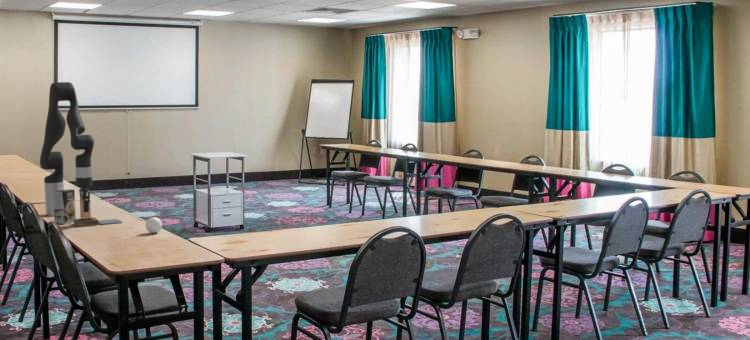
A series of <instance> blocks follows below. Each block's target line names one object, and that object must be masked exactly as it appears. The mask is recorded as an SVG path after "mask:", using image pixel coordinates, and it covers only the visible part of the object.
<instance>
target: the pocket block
mask: <svg viewBox="0 0 750 340" xmlns="http://www.w3.org/2000/svg"><path fill="white" fill-rule="evenodd" d="M98 221H99V219H97V218H96V217H94V216H93V217H92V216H91V218H89V219H81V217H80V218H76V219H74V222H73V225H74V226H76V227H77V228H81V227H92V226H99V223H98Z"/></svg>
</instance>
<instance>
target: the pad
mask: <svg viewBox="0 0 750 340" xmlns="http://www.w3.org/2000/svg"><path fill="white" fill-rule="evenodd" d="M114 224H115V225H116V224H123V221H121V220H119V219H118V218H114V219H113V218H112V219H104V220H98V225H101V226H106V225H114Z"/></svg>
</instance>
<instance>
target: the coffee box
mask: <svg viewBox="0 0 750 340" xmlns="http://www.w3.org/2000/svg"><path fill="white" fill-rule="evenodd" d="M53 194H54V216H53V219H54V222H55V221H56V222H57V223H58V224H57V225H59V224H60V225H67V224H70V223H74V219H77V218H76V217H77V216H76V198H75V197H76V194H75V189H64V190H59V191H54V192H53Z"/></svg>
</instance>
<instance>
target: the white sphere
mask: <svg viewBox="0 0 750 340" xmlns="http://www.w3.org/2000/svg"><path fill="white" fill-rule="evenodd" d="M162 227H163V222H162V221H161V219H160V218H158V217H150V218H148V219H147V220H146V222H145V229H146V231H148V233H150V234H157V233H159V232H161V230H162ZM156 232H157V233H156Z"/></svg>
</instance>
